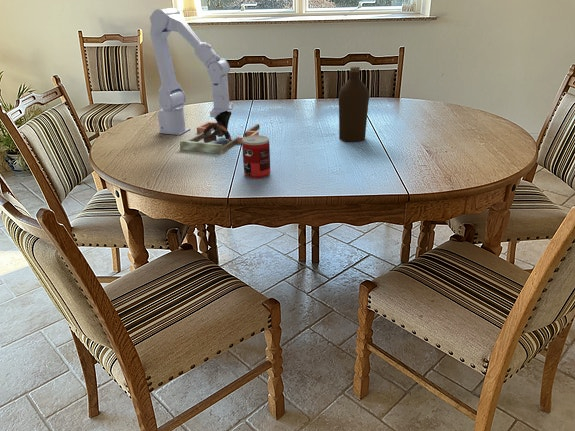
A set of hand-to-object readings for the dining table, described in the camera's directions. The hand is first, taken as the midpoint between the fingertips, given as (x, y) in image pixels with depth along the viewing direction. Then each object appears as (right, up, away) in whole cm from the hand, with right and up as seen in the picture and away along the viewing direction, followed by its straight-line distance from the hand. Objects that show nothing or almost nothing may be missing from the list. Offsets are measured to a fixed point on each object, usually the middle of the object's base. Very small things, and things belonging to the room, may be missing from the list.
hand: (223, 131), depth 180 cm
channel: (0, -2, 0) cm, 2 cm away
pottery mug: (-1, -5, -6) cm, 7 cm away
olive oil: (+47, -3, -4) cm, 47 cm away
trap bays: (+1, -1, +3) cm, 3 cm away
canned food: (+15, -19, -34) cm, 41 cm away
